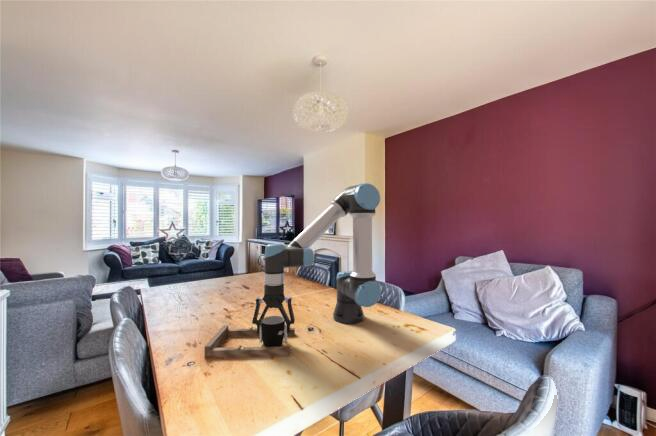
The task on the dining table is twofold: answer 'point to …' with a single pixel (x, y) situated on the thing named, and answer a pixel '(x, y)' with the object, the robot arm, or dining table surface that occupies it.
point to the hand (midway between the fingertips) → (273, 341)
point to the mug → (273, 331)
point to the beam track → (242, 351)
